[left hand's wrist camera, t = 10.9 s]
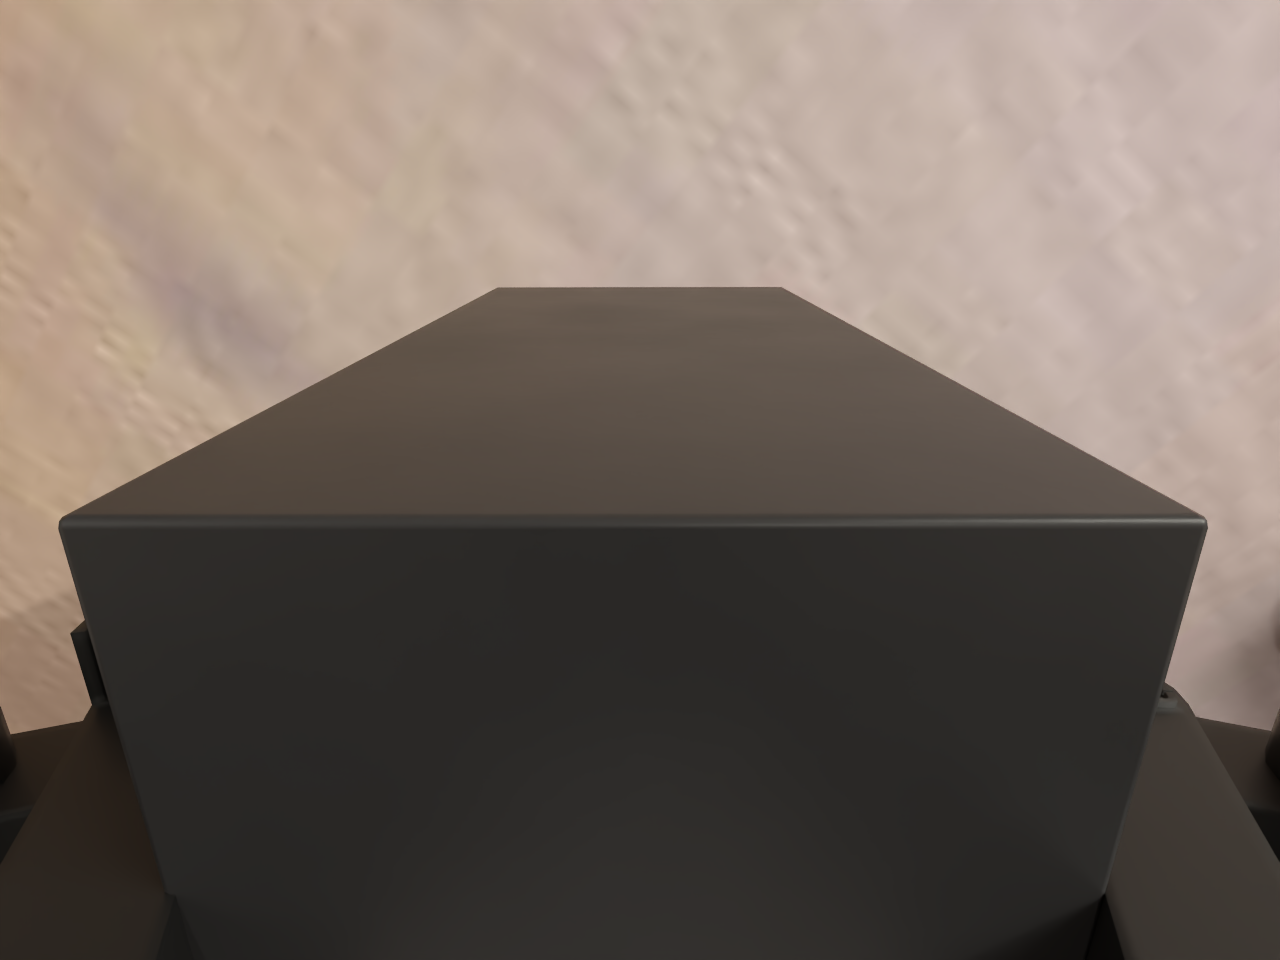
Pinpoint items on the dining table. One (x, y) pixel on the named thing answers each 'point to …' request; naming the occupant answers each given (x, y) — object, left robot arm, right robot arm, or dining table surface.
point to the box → (635, 648)
